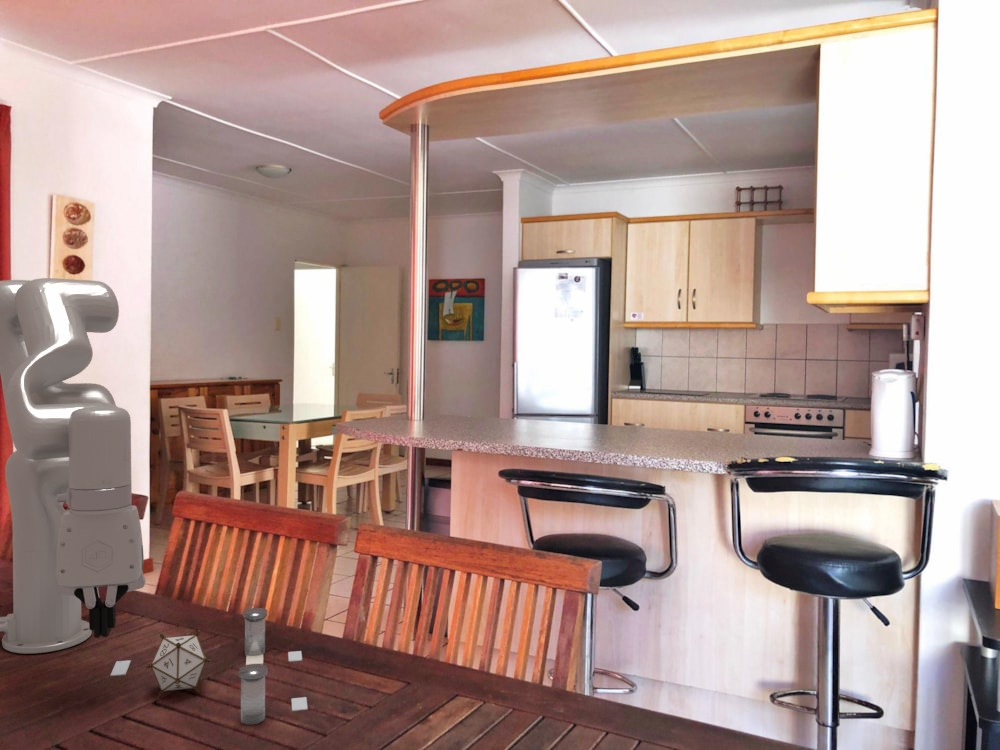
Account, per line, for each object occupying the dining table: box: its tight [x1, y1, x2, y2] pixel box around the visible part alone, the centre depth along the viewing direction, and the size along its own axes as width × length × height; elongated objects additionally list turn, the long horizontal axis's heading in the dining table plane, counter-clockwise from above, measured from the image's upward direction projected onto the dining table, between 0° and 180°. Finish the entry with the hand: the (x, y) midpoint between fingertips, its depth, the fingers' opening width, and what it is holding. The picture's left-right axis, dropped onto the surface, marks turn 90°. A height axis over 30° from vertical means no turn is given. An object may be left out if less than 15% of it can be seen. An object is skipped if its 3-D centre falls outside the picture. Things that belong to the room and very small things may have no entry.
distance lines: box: [110, 650, 309, 712], centre depth 115 cm, size 27×22×1 cm
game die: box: [144, 629, 213, 698], centre depth 113 cm, size 9×8×10 cm
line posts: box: [238, 607, 269, 726], centre depth 116 cm, size 4×26×7 cm, turn 16°
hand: (102, 633), depth 109 cm, fingers closed
